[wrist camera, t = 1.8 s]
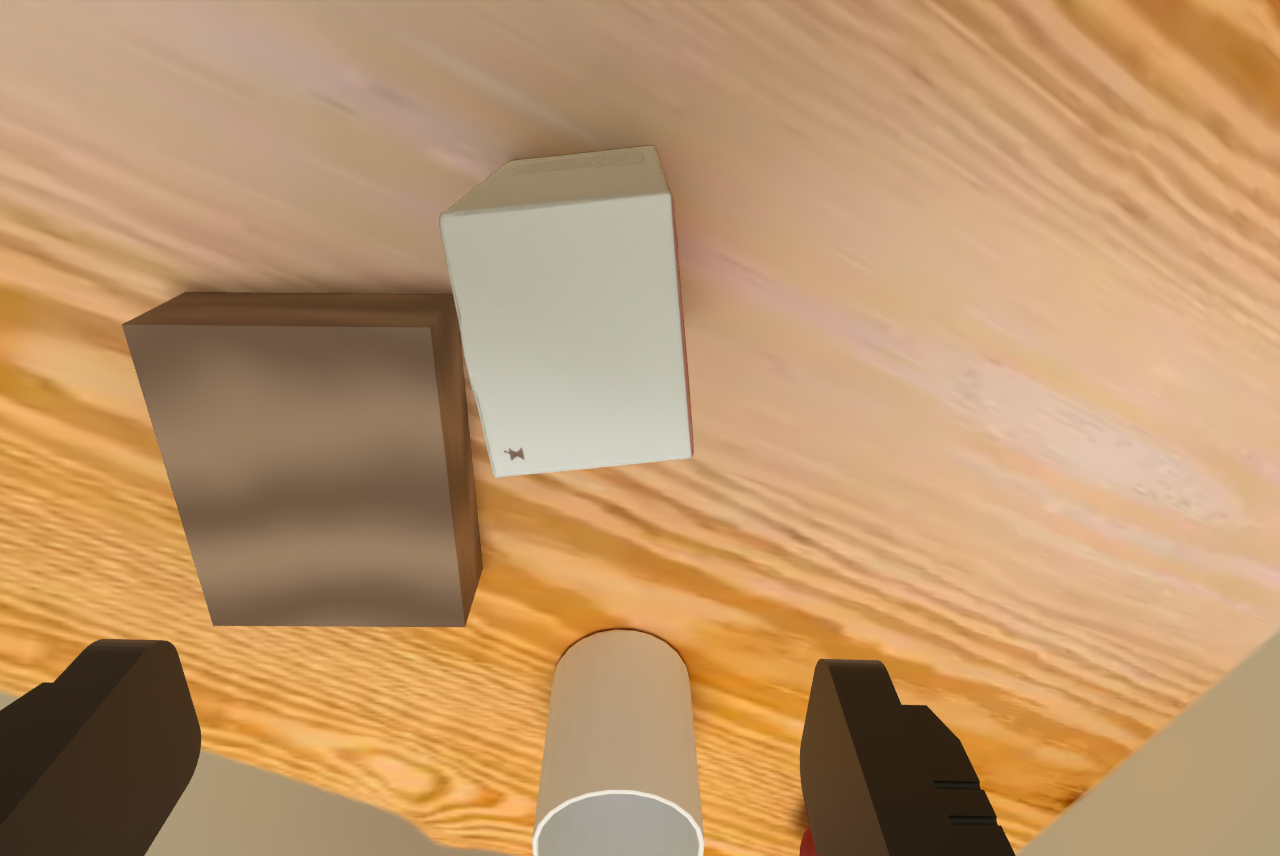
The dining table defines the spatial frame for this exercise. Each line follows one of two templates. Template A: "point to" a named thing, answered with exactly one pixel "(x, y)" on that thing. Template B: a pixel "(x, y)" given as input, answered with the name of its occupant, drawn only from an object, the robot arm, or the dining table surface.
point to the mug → (619, 753)
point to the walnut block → (317, 454)
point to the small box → (572, 312)
